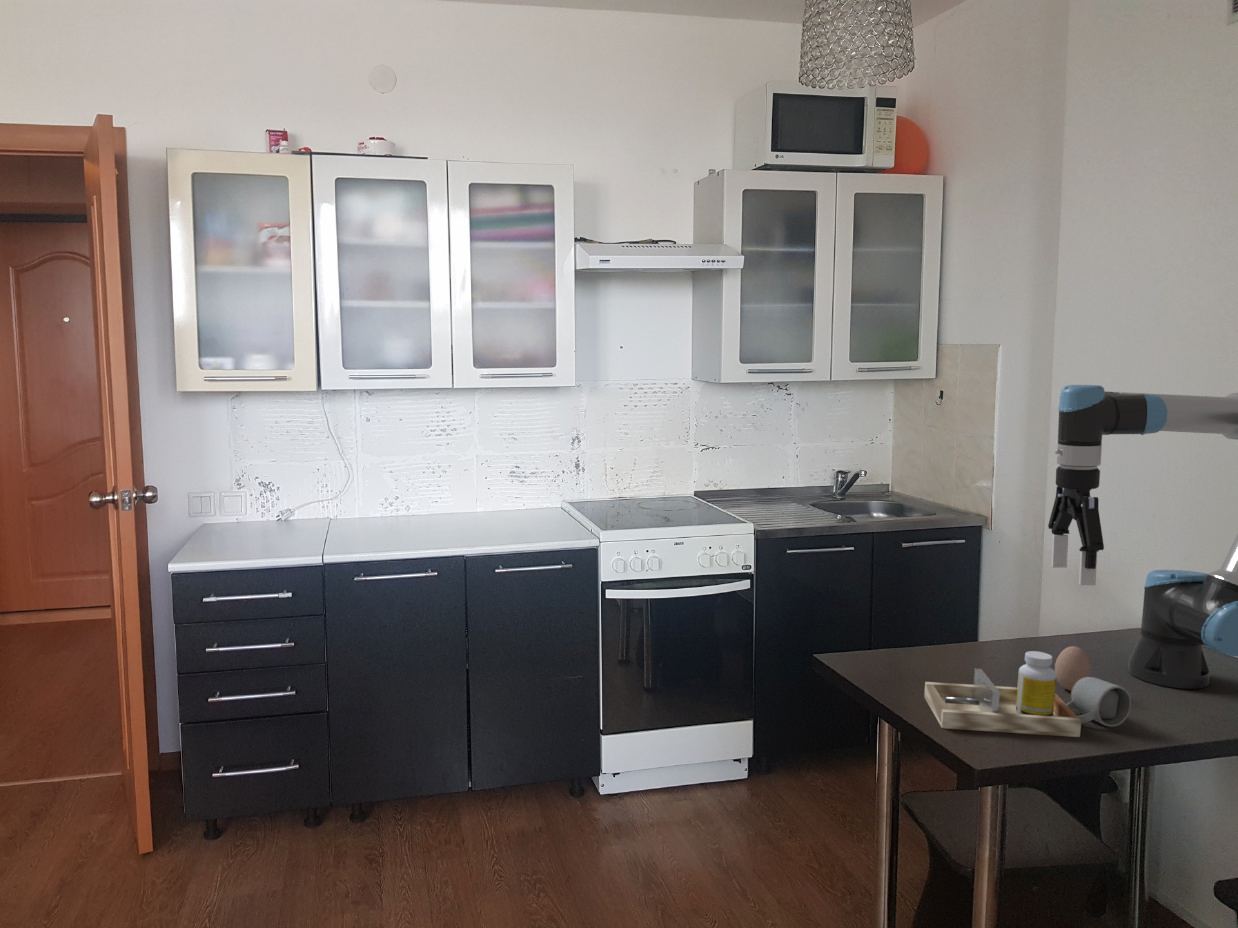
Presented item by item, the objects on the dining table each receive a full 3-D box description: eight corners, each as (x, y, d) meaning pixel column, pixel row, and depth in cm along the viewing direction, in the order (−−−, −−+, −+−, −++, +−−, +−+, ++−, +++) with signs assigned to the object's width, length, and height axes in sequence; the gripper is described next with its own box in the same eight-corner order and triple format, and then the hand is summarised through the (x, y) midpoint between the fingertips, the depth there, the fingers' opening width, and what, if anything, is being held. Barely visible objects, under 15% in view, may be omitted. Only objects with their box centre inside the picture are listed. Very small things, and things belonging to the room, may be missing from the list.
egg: (1073, 697, 191) (1077, 653, 189) (1045, 686, 196) (1049, 643, 195) (1096, 693, 193) (1100, 649, 192) (1068, 682, 199) (1072, 640, 198)
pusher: (979, 698, 186) (981, 668, 185) (997, 723, 174) (999, 691, 173) (937, 695, 187) (940, 666, 186) (953, 720, 175) (955, 689, 174)
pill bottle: (1056, 723, 176) (1062, 662, 174) (1019, 719, 177) (1024, 659, 175) (1048, 710, 182) (1053, 651, 181) (1012, 706, 183) (1016, 648, 182)
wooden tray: (1050, 704, 186) (1051, 689, 186) (1079, 736, 171) (1081, 720, 171) (924, 696, 189) (925, 681, 188) (942, 727, 174) (943, 711, 173)
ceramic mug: (1096, 708, 185) (1099, 670, 184) (1130, 724, 177) (1133, 685, 176) (1051, 714, 182) (1054, 675, 181) (1083, 731, 174) (1087, 691, 173)
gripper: (1034, 458, 194) (1029, 560, 197) (1084, 476, 170) (1078, 592, 172) (1072, 458, 194) (1067, 560, 197) (1128, 476, 169) (1121, 593, 172)
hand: (1072, 575), depth 184 cm, fingers open, 13 cm apart
